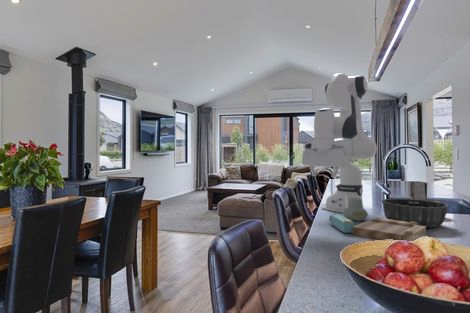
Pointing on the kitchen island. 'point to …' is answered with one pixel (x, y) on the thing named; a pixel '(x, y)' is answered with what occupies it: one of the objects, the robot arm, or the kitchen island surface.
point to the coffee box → (418, 190)
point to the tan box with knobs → (390, 229)
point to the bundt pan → (416, 211)
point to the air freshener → (355, 210)
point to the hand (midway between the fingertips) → (323, 176)
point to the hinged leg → (341, 223)
